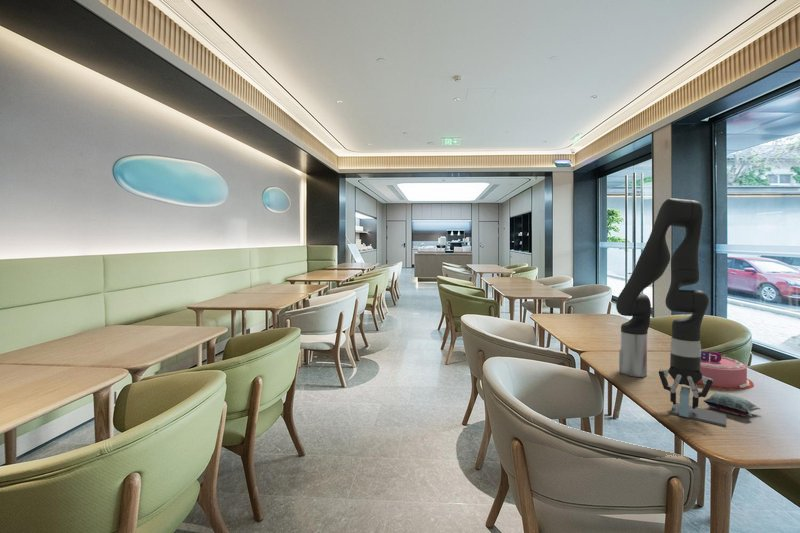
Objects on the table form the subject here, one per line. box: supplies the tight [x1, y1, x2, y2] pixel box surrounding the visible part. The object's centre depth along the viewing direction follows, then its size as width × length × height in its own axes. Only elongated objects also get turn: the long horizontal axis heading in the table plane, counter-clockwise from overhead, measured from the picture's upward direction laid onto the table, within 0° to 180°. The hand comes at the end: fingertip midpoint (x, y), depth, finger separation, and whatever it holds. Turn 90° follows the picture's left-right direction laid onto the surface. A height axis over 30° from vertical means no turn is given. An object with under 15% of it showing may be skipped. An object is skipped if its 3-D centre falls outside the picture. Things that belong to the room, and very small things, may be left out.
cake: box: [696, 350, 754, 391], centre depth 144 cm, size 25×25×11 cm
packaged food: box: [702, 392, 761, 417], centre depth 115 cm, size 9×12×5 cm
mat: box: [670, 402, 727, 427], centre depth 113 cm, size 13×9×1 cm
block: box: [679, 386, 691, 418], centre depth 113 cm, size 2×7×6 cm
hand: (684, 405), depth 115 cm, fingers open, 4 cm apart
